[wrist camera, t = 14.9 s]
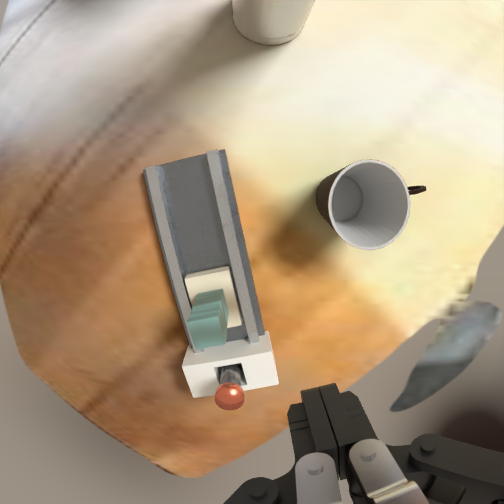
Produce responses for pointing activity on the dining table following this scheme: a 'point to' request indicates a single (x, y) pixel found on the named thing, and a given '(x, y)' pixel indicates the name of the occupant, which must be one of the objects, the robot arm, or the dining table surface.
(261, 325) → the rail bed
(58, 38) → the dining table surface
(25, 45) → the dining table surface
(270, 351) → the end cabinet
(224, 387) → the gauge plunger
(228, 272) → the carriage
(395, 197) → the coffee mug
